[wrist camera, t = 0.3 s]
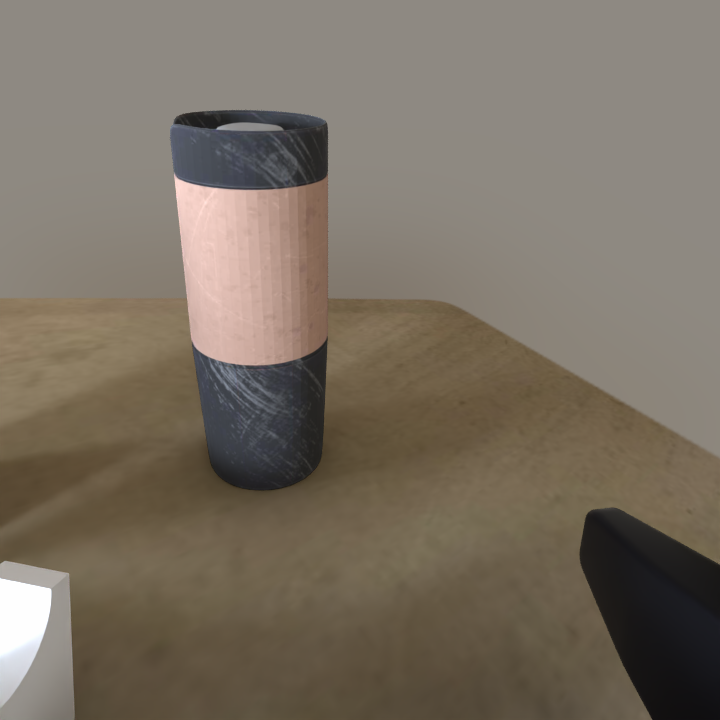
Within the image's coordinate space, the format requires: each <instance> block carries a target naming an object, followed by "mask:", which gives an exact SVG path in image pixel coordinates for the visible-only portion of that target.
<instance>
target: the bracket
mask: <svg viewBox="0 0 720 720" xmlns="http://www.w3.org/2000/svg"><path fill="white" fill-rule="evenodd" d="M0 720H75V709H74V684H73V660H72V635H71V610H70V585H69V573H64V572H59V571H54V570H49V569H44V568H39V567H34V566H29V565H24V564H19V563H14V562H9V561H4V562H2V563H1V564H0Z"/></svg>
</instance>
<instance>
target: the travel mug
mask: <svg viewBox="0 0 720 720" xmlns="http://www.w3.org/2000/svg"><path fill="white" fill-rule="evenodd" d="M170 139H171V148H172V158H173V166H174V175H175V176H174V177H175V185H176V196H177V205H178V215H179V224H180V234H181V244H182V254H183V263H184V273H185V282H186V292H187V302H188V311H189V321H190V331H191V339H192V347H193V354H194V360H195V367H196V373H197V380H198V386H199V393H200V400H201V406H202V413H203V419H204V426H205V432H206V439H207V445H208V451H209V457H210V461H211V465H212V467H213V469H214V471H215V472H216V473H217V475H218V476H219V477H221V478H222V479H223V480H225V481H226V482H228V483H230V484H232V485H234V486H237V487H241V488H245V489H252V490H271V489H278V488H282V487H286V486H289V485H292V484H294V483H297V482H299V481H301V480H302V479H304V478H306V477H307V476H308V475H309V474H311V473H312V472H313V471H314V469H315V468H316V467H317V465H318V463H319V461H320V459H321V455H322V446H323V429H324V407H325V385H326V362H327V340H328V336H327V335H328V174H327V173H328V127H327V123H326V121H325V120H323V119H321V118H318V117H314V116H310V115H304V114H297V113H287V112H276V111H256V110H223V111H203V112H192V113H186V114H182V115H179V116H177V117H176V118H175V120H174V123H173V125H172V126H171V129H170Z"/></svg>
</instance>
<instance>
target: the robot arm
mask: <svg viewBox="0 0 720 720" xmlns="http://www.w3.org/2000/svg"><path fill="white" fill-rule="evenodd" d="M580 563H581V566H582V569H583V572H584V574H585V577H586V579H587V581H588V584H589V586H590V588H591V591H592V593H593V596H594V598H595V600H596V603H597V605H598V607H599V610H600V612H601V615H602V617H603V619H604V622H605V624H606V626H607V629H608V631H609V634H610V636H611V638H612V641H613V643H614V645H615V648H616V650H617V652H618V654H619V657H620V659H621V661H622V663H623V666H624V667H625V669H626V671H627V673H628V675H629V677H630V679H631V681H632V683H633V685H634V687H635V688H636V690H637V692H638V694H639V696H640V698H641V700H642V701H643V703H644V705H645V707H646V709H647V711H648V712H649V714H650V716H651V718H652V720H720V565H719V564H718V563H716V562H714V561H712V560H710V559H709V558H707V557H705V556H703V555H701V554H700V553H698V552H696V551H694V550H692V549H690V548H689V547H687V546H685V545H683V544H681V543H680V542H678V541H676V540H674V539H672V538H671V537H669V536H667V535H665V534H663V533H662V532H660V531H658V530H656V529H654V528H652V527H651V526H649V525H647V524H645V523H643V522H642V521H640V520H638V519H636V518H634V517H633V516H631V515H629V514H627V513H625V512H624V511H622V510H620V509H617V508H604V509H595V510H591V511H589V512H588V514H587V515H586V519H585V524H584V529H583V535H582V541H581V546H580Z"/></svg>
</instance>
